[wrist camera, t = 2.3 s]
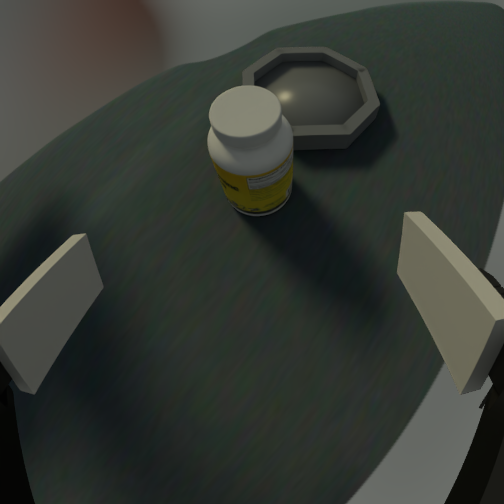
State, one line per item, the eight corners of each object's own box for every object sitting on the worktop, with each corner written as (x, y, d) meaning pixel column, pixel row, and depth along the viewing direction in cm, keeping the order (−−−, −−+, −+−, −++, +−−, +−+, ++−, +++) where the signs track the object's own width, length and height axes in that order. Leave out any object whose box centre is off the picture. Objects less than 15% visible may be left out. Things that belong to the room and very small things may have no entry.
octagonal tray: (246, 153, 31) (243, 139, 29) (244, 64, 35) (242, 50, 33) (384, 148, 30) (390, 135, 27) (355, 61, 34) (358, 48, 31)
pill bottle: (217, 173, 30) (186, 95, 20) (276, 151, 31) (270, 67, 20) (238, 229, 29) (212, 161, 18) (303, 204, 29) (310, 127, 18)
